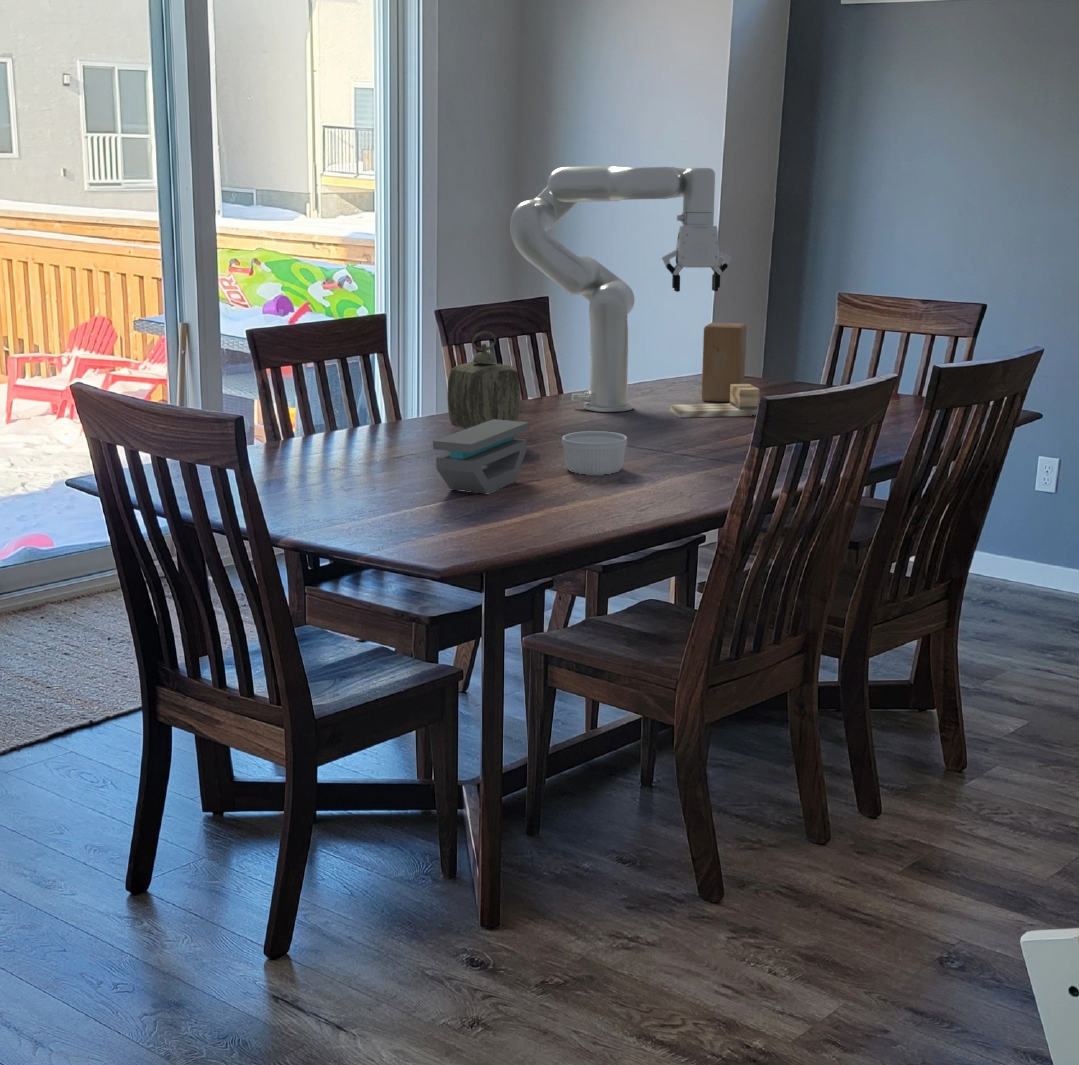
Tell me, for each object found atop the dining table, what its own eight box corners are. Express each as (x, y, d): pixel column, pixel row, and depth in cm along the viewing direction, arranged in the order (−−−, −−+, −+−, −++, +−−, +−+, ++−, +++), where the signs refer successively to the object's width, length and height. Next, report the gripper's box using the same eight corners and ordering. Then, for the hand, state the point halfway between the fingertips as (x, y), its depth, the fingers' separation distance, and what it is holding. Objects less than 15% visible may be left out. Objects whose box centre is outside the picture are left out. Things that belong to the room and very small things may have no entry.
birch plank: (679, 417, 338) (679, 411, 337) (669, 410, 347) (670, 404, 347) (773, 415, 341) (773, 409, 340) (761, 408, 350) (761, 402, 350)
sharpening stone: (494, 472, 276) (493, 419, 274) (529, 475, 273) (529, 422, 270) (434, 498, 254) (433, 440, 252) (471, 502, 251) (470, 444, 248)
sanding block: (758, 409, 340) (759, 389, 339) (739, 409, 340) (740, 389, 339) (748, 403, 349) (749, 383, 348) (729, 403, 348) (730, 384, 347)
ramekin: (572, 479, 271) (572, 444, 269) (553, 465, 283) (554, 432, 281) (635, 475, 274) (636, 441, 272) (614, 462, 286) (615, 429, 285)
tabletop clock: (496, 436, 313) (495, 327, 306) (523, 442, 306) (523, 330, 300) (448, 445, 303) (446, 332, 296) (475, 451, 297) (474, 336, 290)
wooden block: (700, 401, 361) (703, 325, 356) (707, 395, 370) (709, 321, 365) (738, 403, 358) (741, 327, 353) (744, 397, 367) (747, 323, 362)
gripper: (667, 220, 328) (665, 292, 332) (736, 220, 330) (734, 292, 335) (660, 219, 335) (658, 290, 340) (728, 219, 338) (725, 289, 342)
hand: (695, 291), depth 337 cm, fingers open, 9 cm apart
